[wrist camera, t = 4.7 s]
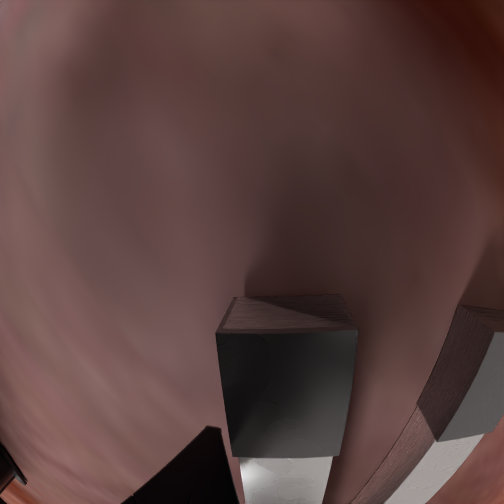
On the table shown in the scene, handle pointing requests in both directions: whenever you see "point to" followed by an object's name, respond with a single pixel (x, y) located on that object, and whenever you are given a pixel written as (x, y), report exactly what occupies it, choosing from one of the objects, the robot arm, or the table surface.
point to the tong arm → (286, 391)
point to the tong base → (447, 412)
